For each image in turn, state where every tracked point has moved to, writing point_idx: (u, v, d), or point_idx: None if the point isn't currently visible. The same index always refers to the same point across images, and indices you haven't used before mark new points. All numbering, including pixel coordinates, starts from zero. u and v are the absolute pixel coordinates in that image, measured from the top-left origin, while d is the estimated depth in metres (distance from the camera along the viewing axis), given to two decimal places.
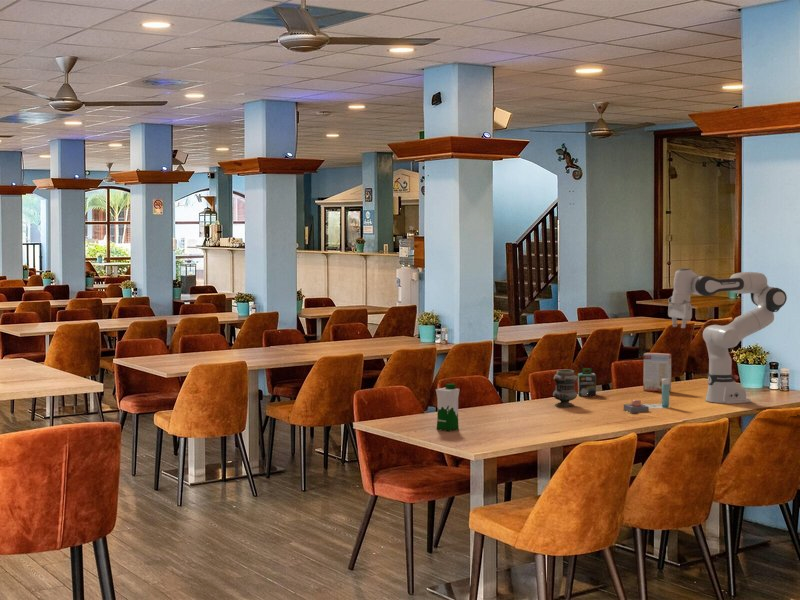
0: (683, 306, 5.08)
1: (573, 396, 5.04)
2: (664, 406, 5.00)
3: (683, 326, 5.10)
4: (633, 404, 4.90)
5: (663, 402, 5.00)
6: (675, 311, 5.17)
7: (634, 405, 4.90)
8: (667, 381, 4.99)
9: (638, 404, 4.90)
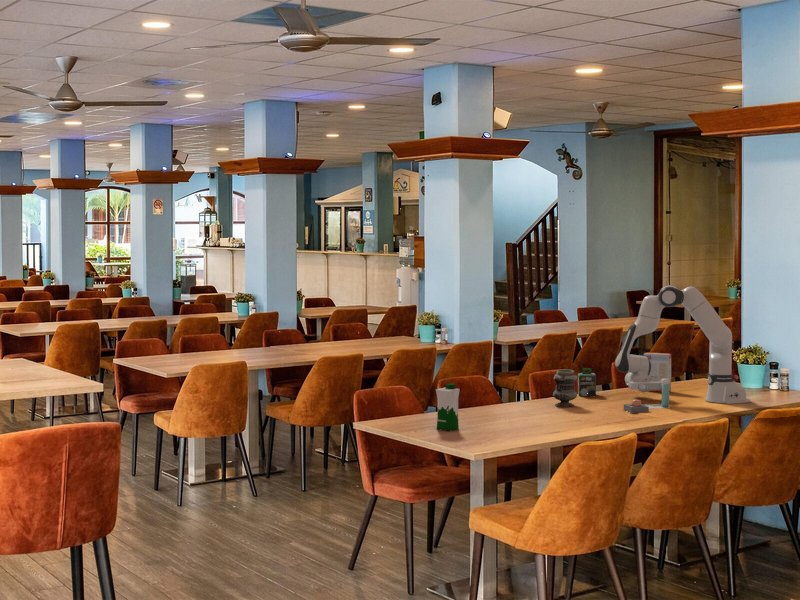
0: None
1: (573, 396, 5.04)
2: (664, 406, 5.00)
3: (644, 387, 5.12)
4: (633, 404, 4.90)
5: (663, 402, 5.00)
6: None
7: (634, 405, 4.90)
8: (667, 381, 4.99)
9: (638, 404, 4.90)
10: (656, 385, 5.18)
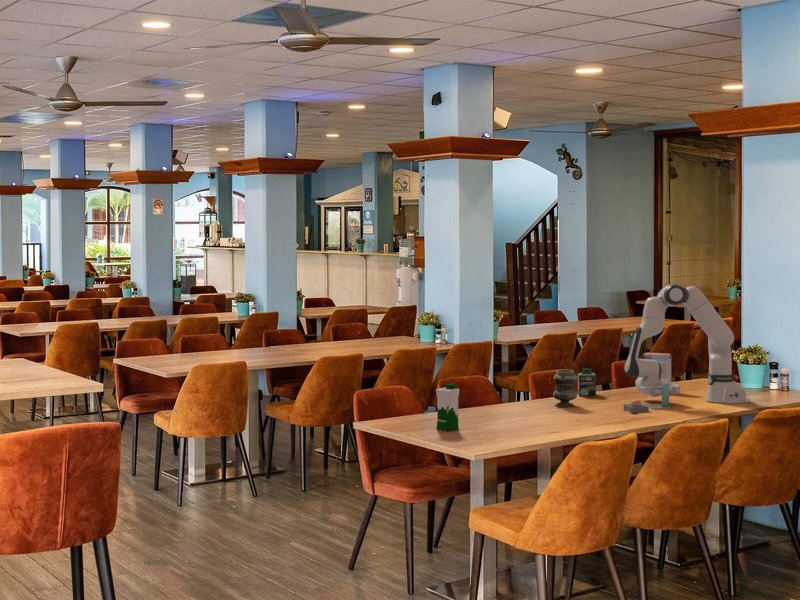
0: None
1: (573, 396, 5.04)
2: (664, 406, 5.00)
3: (659, 392, 5.00)
4: (633, 404, 4.90)
5: (663, 402, 5.00)
6: None
7: (634, 405, 4.90)
8: (667, 381, 4.99)
9: (638, 404, 4.90)
10: None
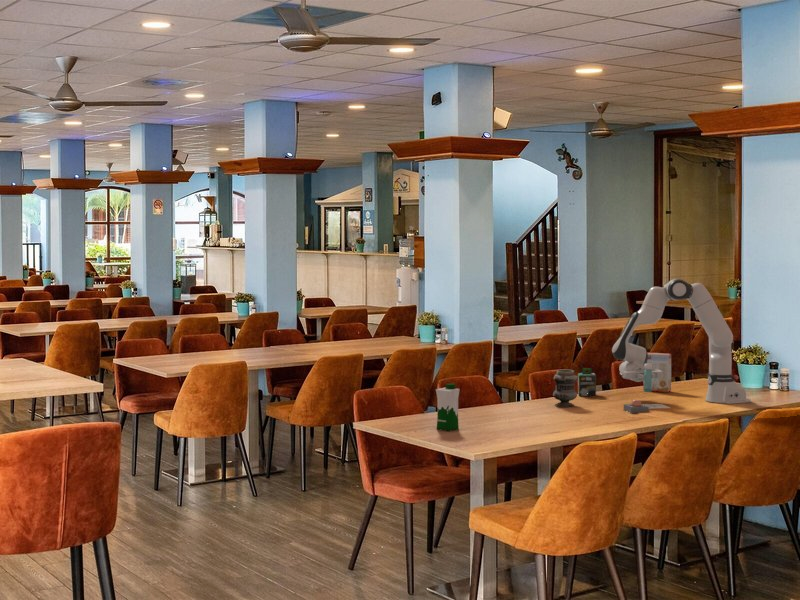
0: None
1: (573, 396, 5.04)
2: (646, 391, 5.04)
3: (642, 376, 5.04)
4: (633, 404, 4.90)
5: (645, 387, 5.04)
6: None
7: (634, 405, 4.90)
8: (649, 366, 5.03)
9: (638, 404, 4.90)
10: None
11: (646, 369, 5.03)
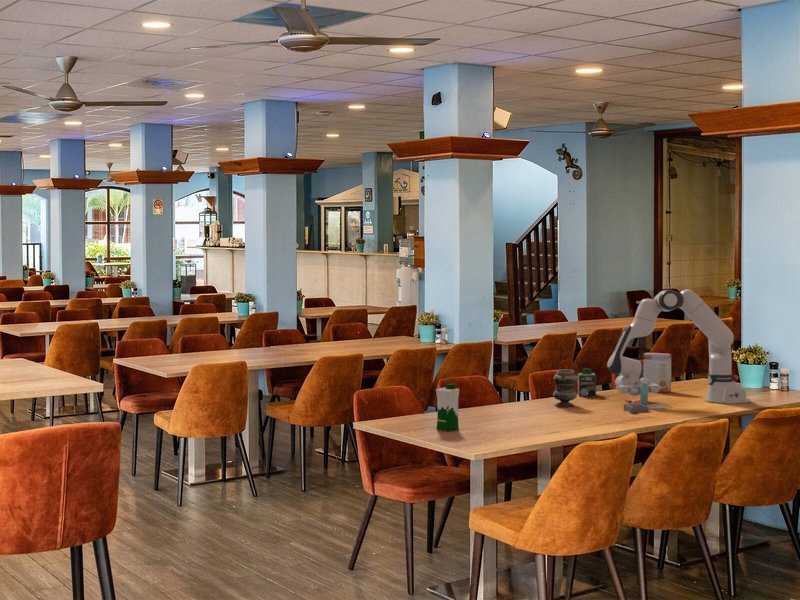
0: None
1: (573, 396, 5.04)
2: None
3: (635, 391, 5.02)
4: (633, 404, 4.90)
5: (642, 401, 5.02)
6: None
7: (634, 405, 4.90)
8: (646, 380, 5.01)
9: (638, 404, 4.90)
10: None
11: (642, 384, 5.01)
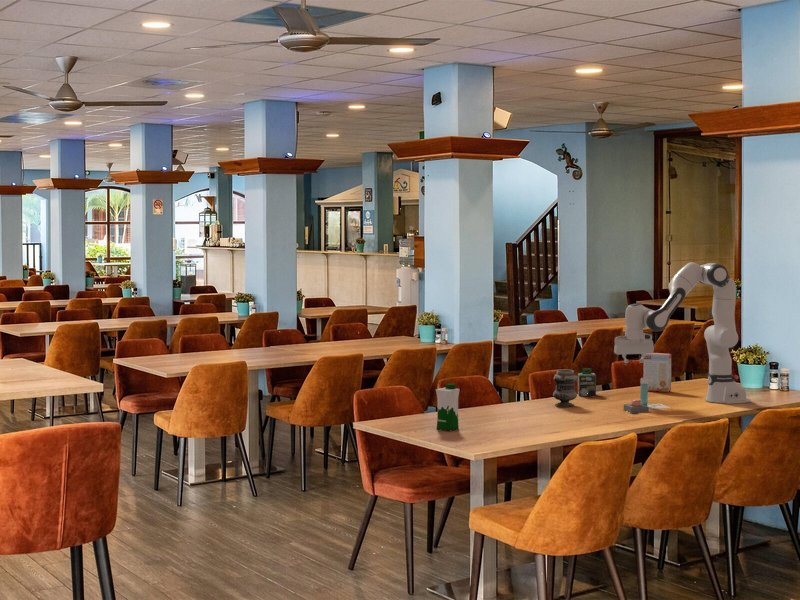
0: None
1: (573, 396, 5.04)
2: None
3: (624, 361, 5.14)
4: (633, 404, 4.90)
5: (642, 401, 5.02)
6: None
7: (634, 405, 4.90)
8: (646, 380, 5.01)
9: (638, 404, 4.90)
10: None
11: (642, 384, 5.01)
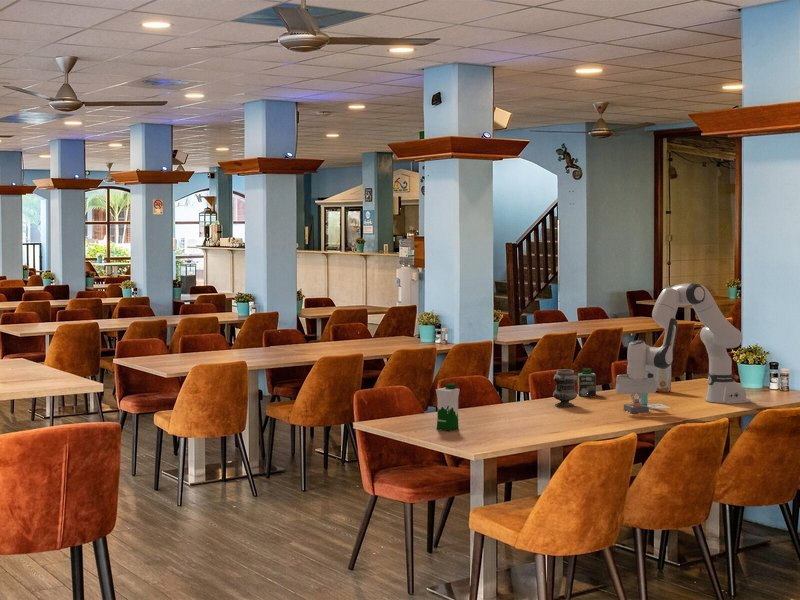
0: None
1: (573, 396, 5.04)
2: None
3: (633, 400, 4.92)
4: (633, 406, 4.90)
5: (642, 401, 5.02)
6: None
7: None
8: None
9: None
10: None
11: None
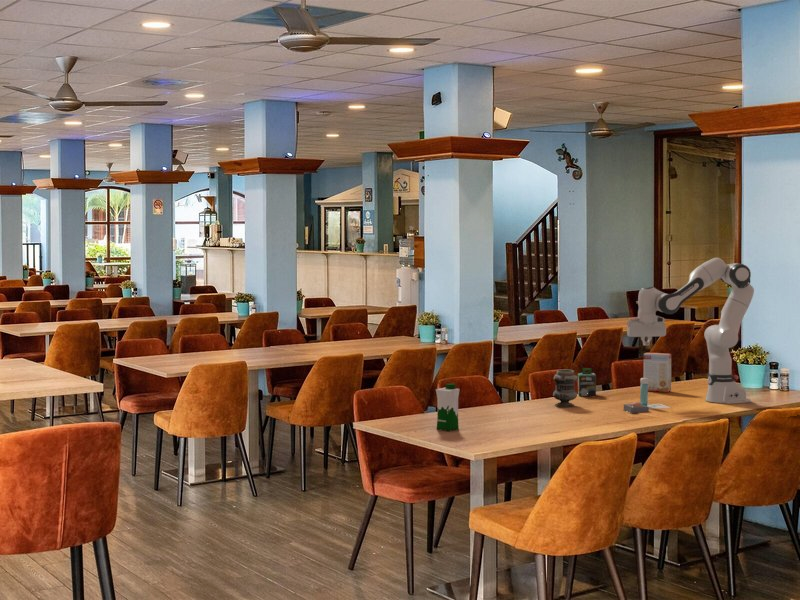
0: None
1: (573, 396, 5.04)
2: None
3: (643, 343, 5.20)
4: (633, 406, 4.90)
5: (642, 401, 5.02)
6: None
7: None
8: (646, 380, 5.01)
9: None
10: None
11: (642, 384, 5.01)
